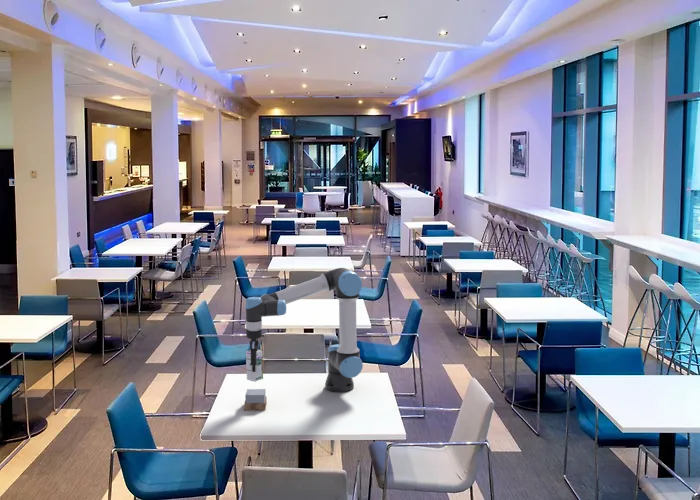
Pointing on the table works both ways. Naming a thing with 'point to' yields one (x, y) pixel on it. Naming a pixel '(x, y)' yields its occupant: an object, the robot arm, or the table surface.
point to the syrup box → (259, 365)
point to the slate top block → (255, 396)
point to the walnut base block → (255, 406)
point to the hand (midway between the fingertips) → (254, 375)
